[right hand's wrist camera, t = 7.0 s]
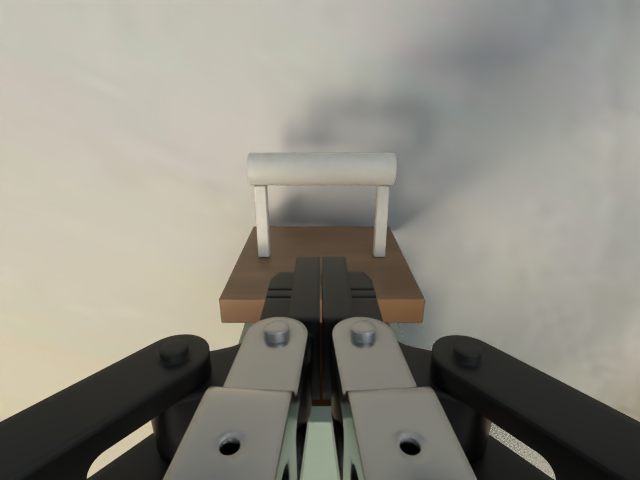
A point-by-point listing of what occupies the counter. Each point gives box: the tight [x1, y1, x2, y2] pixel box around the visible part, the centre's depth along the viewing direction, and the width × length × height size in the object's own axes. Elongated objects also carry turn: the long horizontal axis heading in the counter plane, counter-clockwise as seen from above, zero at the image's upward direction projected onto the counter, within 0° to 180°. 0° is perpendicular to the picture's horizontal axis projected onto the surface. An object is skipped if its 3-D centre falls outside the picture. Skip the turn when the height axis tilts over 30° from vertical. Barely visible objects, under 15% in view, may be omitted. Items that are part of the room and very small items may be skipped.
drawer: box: [219, 153, 425, 406], centre depth 22 cm, size 17×9×9 cm, turn 0°
